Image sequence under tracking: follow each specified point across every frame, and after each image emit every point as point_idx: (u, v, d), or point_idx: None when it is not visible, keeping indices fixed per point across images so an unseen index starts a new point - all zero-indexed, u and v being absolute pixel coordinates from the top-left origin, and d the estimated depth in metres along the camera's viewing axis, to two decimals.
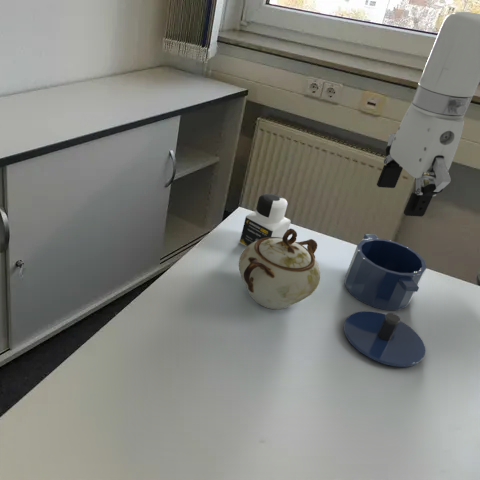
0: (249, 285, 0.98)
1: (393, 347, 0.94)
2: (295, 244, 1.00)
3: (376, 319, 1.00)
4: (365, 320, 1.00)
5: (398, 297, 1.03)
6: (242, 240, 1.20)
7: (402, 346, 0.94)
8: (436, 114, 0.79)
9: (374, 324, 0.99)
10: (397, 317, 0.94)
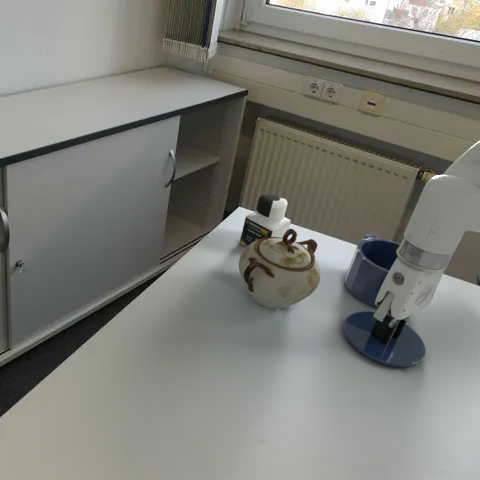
0: (249, 285, 0.98)
1: (393, 347, 0.94)
2: (295, 244, 1.00)
3: (376, 319, 1.00)
4: (365, 320, 1.00)
5: None
6: (242, 240, 1.20)
7: (402, 346, 0.94)
8: (399, 255, 0.87)
9: (374, 324, 0.99)
10: None
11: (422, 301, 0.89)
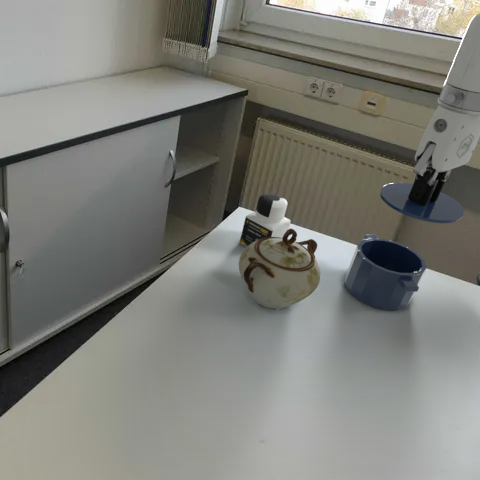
0: (249, 285, 0.98)
1: (431, 208, 0.93)
2: (295, 244, 1.00)
3: None
4: (401, 188, 0.98)
5: (398, 297, 1.03)
6: (242, 240, 1.20)
7: (440, 207, 0.93)
8: (441, 102, 0.85)
9: None
10: None
11: (463, 154, 0.88)
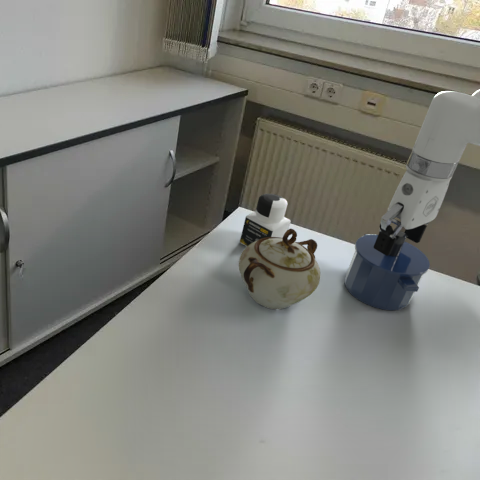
0: (249, 285, 0.98)
1: (400, 261, 1.03)
2: (295, 244, 1.00)
3: None
4: (375, 240, 1.08)
5: (398, 297, 1.03)
6: (242, 240, 1.20)
7: (408, 261, 1.03)
8: (408, 168, 0.95)
9: None
10: (404, 234, 1.03)
11: (429, 213, 0.98)
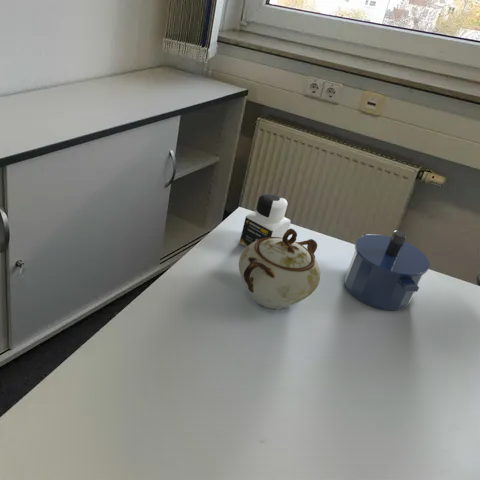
0: (249, 285, 0.98)
1: (400, 261, 1.03)
2: (295, 244, 1.00)
3: (384, 240, 1.09)
4: (375, 240, 1.08)
5: (398, 297, 1.03)
6: (242, 240, 1.20)
7: (408, 261, 1.03)
8: None
9: (382, 244, 1.08)
10: (404, 234, 1.03)
11: None
